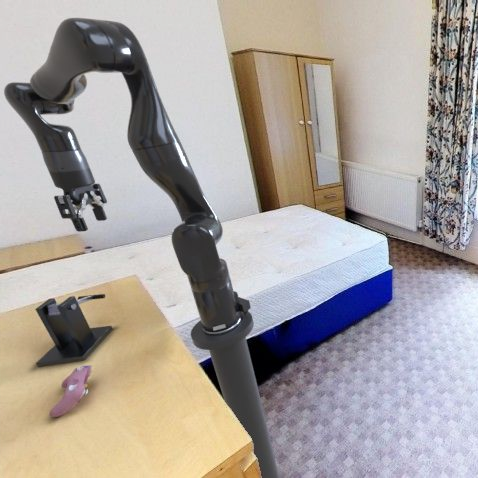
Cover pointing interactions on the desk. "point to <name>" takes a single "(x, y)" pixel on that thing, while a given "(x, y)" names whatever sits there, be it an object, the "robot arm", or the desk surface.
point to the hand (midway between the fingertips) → (92, 225)
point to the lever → (81, 299)
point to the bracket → (69, 333)
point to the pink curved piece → (72, 391)
